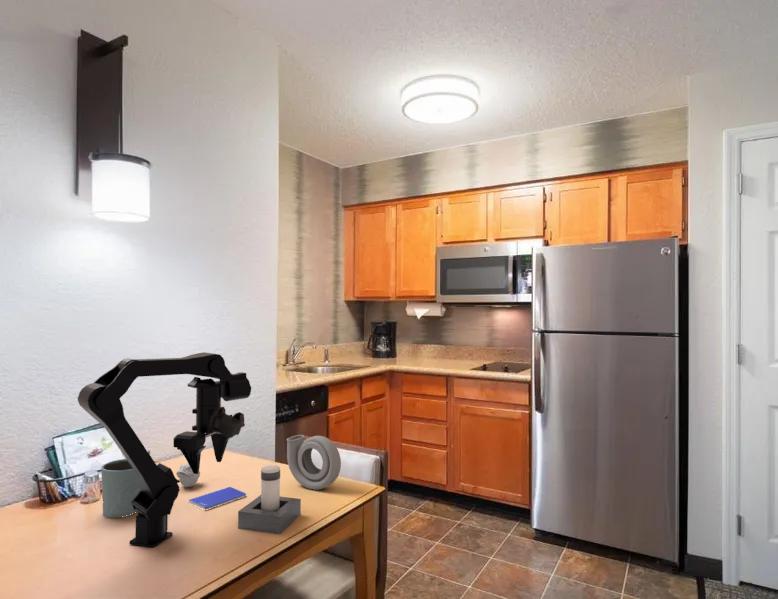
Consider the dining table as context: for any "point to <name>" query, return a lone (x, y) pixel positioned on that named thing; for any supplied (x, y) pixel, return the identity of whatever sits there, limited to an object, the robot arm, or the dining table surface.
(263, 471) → the white rounded cylinder
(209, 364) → the robot arm
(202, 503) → the hard drive
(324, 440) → the turbocharger housing
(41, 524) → the dining table surface
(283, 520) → the frame
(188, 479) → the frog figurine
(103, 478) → the grey green pot
